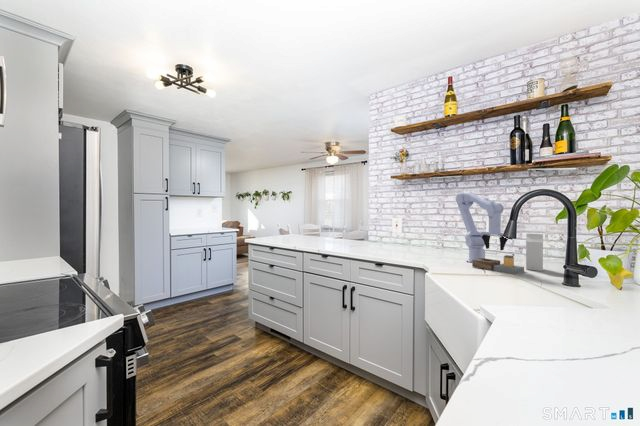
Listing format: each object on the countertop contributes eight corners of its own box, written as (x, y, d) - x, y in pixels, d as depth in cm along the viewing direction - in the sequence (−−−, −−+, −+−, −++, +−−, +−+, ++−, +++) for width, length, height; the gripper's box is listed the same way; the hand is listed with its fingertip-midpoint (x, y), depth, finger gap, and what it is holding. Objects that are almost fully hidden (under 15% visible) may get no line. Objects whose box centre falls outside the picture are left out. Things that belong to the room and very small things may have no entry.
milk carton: (542, 271, 150) (543, 234, 150) (526, 269, 155) (526, 234, 154) (542, 268, 156) (542, 233, 156) (526, 267, 160) (526, 233, 160)
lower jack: (503, 268, 158) (503, 263, 158) (524, 271, 150) (524, 266, 150) (493, 270, 153) (493, 265, 153) (515, 274, 144) (515, 269, 144)
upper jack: (481, 265, 168) (481, 258, 168) (500, 267, 159) (500, 260, 159) (472, 266, 162) (472, 259, 162) (490, 270, 154) (490, 262, 154)
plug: (506, 270, 154) (506, 255, 153) (513, 271, 151) (513, 255, 151) (503, 270, 152) (503, 255, 152) (510, 272, 149) (510, 256, 149)
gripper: (477, 224, 165) (477, 248, 166) (505, 225, 153) (505, 251, 153) (484, 224, 169) (484, 247, 169) (511, 225, 157) (511, 250, 157)
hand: (494, 249), depth 162 cm, fingers open, 7 cm apart
